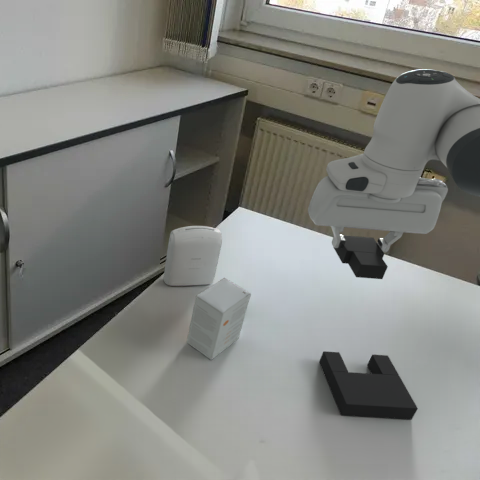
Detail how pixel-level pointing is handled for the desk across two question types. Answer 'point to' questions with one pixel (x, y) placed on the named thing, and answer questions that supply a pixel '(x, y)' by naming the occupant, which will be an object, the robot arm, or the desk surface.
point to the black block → (363, 257)
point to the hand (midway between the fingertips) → (358, 248)
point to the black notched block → (368, 388)
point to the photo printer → (192, 256)
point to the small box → (217, 317)
